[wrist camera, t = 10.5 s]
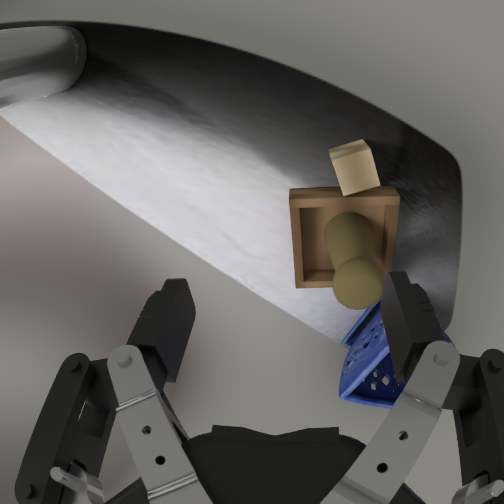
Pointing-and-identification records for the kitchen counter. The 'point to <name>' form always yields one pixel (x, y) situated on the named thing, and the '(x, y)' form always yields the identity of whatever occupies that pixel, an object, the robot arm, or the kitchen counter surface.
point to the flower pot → (370, 363)
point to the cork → (354, 261)
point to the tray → (319, 214)
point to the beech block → (354, 167)
